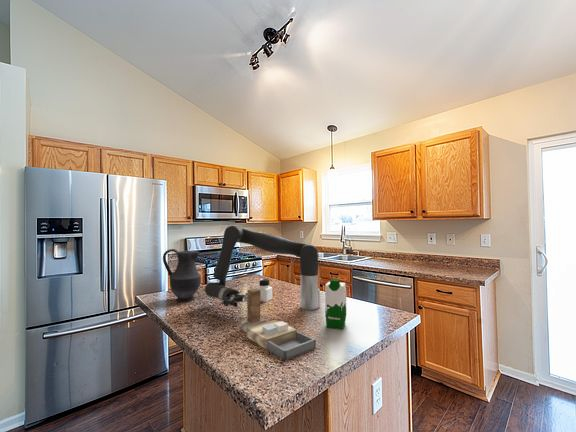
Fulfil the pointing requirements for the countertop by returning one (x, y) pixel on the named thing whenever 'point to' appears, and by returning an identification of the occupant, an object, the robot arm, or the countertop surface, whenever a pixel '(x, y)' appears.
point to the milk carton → (335, 304)
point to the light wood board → (277, 338)
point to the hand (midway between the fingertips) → (245, 302)
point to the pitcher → (184, 275)
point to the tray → (292, 346)
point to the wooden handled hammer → (252, 310)
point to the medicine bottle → (265, 290)
